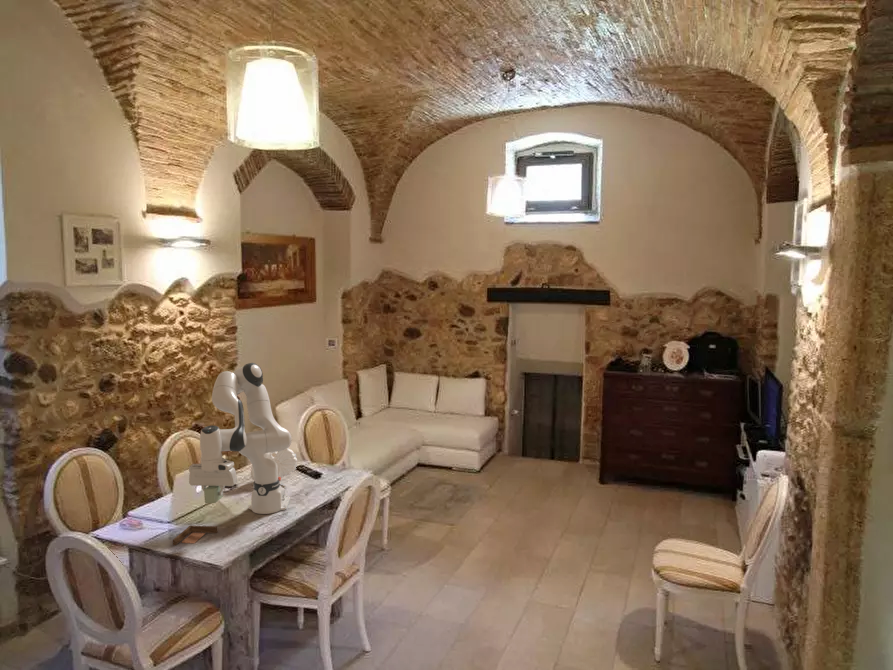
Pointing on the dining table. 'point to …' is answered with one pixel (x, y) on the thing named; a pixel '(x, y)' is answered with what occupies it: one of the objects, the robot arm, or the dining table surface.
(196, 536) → the brown flat wooden frame
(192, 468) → the robot arm
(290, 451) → the decorative rooster
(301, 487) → the dining table surface
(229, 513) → the dining table surface
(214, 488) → the sage block
